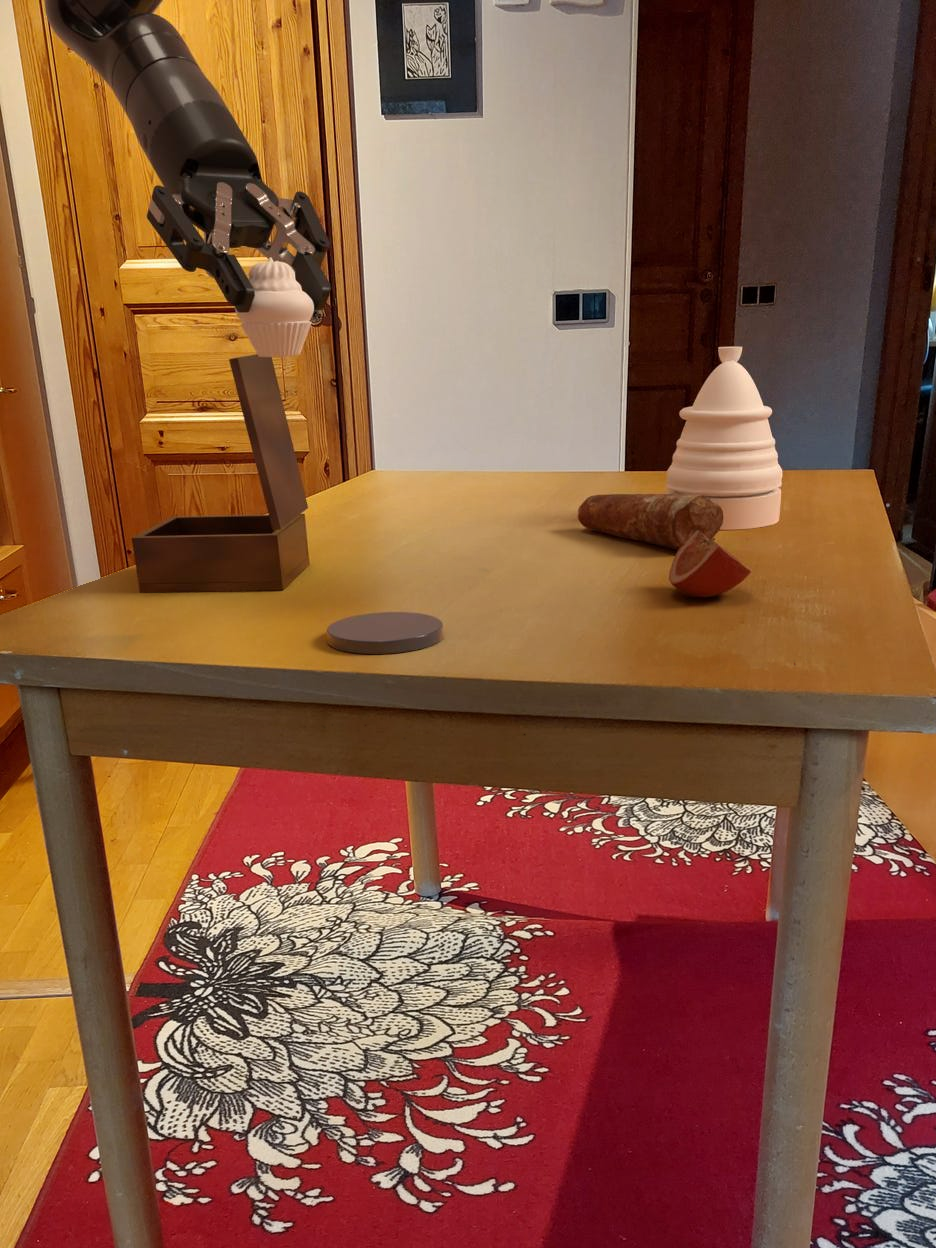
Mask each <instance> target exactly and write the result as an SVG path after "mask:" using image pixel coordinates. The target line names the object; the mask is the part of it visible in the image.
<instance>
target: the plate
mask: <svg viewBox="0 0 936 1248" xmlns="http://www.w3.org/2000/svg"><path fill="white" fill-rule="evenodd" d="M326 638H327V643H328V645H329V646H330V647H331V648H333V649H335V650H338V651H341V652H346V653H352V654H362V655H388V654H389V655H390V654H401V653H408V652H413V651H418V650H422V649H425V648H429V647H431V646H433V645H435V644H438V643H440V642H441V641H442V639H443V638H444V624H443V621H442V620H441V619H440V618H438V617H436V616H433V615H431V614H425V613H420V612H409V611H383V612H382V611H381V612H370V613H363V614H358V615H351V616H348V617H344V618H341V619H338V620H336V621H334V622H332V623H330V624H329V625H328V626H327V628H326Z"/></svg>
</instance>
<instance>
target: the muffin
mask: <svg viewBox="0 0 936 1248" xmlns="http://www.w3.org/2000/svg"><path fill="white" fill-rule="evenodd" d="M248 279H249V281H250V283H251V284H252V286H253V288H254V291H255V297H254V300H253V302H252V305H251V308H250V310H249V312H244V313H239V312H238V311H237V310H236V308H235V307H234V310H235V314H236V316H237V318H238V319H239V321H240V322H241V323H240V327H241V328H242V330H243V332H244V333H245V335H246V337H247V338H248V340H249V342H250V344H251V346H252V348H253V349H254V351H255V352H256V354H258V356H259V357H272V358H286V357H298V356H300V355H301V352H302V350H303V348H304V344H305V342H306V341H307V336H308V334H309V331H310V330H311V326H312V323H313V321H311V319H312V317H313V315H314V312H315V311H314V304H313V301H312V299H311V298H310V297H309V296H308V295H307V294H306V293H305V292H304V291H302V288H301V285H300V284H299V283H298V282H297V281H296V279H295V272H294V271H293V269H292V268H291V267H290V266H289V265H288V264H286V263H284V262H279V261H275V262H274V261H273V260H272V258H271V257H270V258H269V259H267V261H261V262H257V263H254V265H253V266H251V268H250V269H249V271H248Z"/></svg>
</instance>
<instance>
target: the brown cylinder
mask: <svg viewBox="0 0 936 1248" xmlns="http://www.w3.org/2000/svg"><path fill="white" fill-rule="evenodd" d="M577 520H578V522H579V523H580V525H581V526H583V527H584V528H586V529H589V530H593V531H597V532H601V533H605V534H608V535H611V536H614V537H619V538H623V539H627V540H629V539H630V540H635V541H638V542H642V543H643V542H644V543H648V544H652V545H657V546H661V547H663V548H667V549H671V550H677V551H678V550H679V549H680V547H682V546H683V545H684V543H685V542H686V541H687V540H688V539H689V538H690V537H691V536H692V535H693V534H694V533H695V532H696V531H697V530H698V531H700V532H702V534H704V535H705V536H706V537H707V538H708V539H709V540H710V539H713V538H715V536H716V535H717V534H718V533H719V531H721V530H720V527H721V526H722V524H723V511H722V509H721V507H720V506H719V505H717V504H715V503H714V502H712V501H711V500H709V499H708V498H707V497H705V496H704V495H692V494H665V493H610V494H607V493H606V494H594V495H590V496H588V497H586V498H585V500H584V501H583V502H582V503H581V504H580V506H579V507H578V509H577Z"/></svg>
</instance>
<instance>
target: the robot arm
mask: <svg viewBox="0 0 936 1248" xmlns="http://www.w3.org/2000/svg"><path fill="white" fill-rule="evenodd" d="M163 1H164V0H44V1H43V2H44V11H45V15H46V19H47V22H48V25H50V28H51V29H52V32H54V34H55V35H56V36H57V38H58V39H59V40H61V42H62V43H63V44H65V46H66V47H68V48H69V49H70V50H71V51H72V52H73V53H74V54H76V55H77V56H78V57H79V58H81V59H82V60H83V61H84V62H85V63H87V64H88V65H90V67H91V68H92V69H93V70H94V71H95V72H96V73H97V74H98V75H99V76H100V77H101V78H102V80H103V81H104V82H105V84H107V85H108V87H109V88H110V89H111V90H112V92H113V94H114V96H115V97H116V99H117V101H118V103H119V105H120V107H121V108H122V110H123V111H124V113H125V115H126V117H127V118H128V120H129V122H130V124H131V126H132V129H133V131H134V134H135V136H136V140H137V141H138V143H139V146H140V147H141V149H142V151H143V153H144V154H145V156H146V158H147V160H148V162H149V163H150V165H151V167H152V168H153V170H154V172H155V174H156V176H157V177H158V179H159V181H160V182H161V184H162V185H160V184H158V185H155V186H154V187H153V189H152V193H151V198H150V201H149V205H148V208H147V212H146V218H147V220H148V222H149V223H150V225H151V226H152V227H153V229H154V230H155V231H156V233H157V234H158V235H159V237H160V239H161V241H162V242H163V243H164V244H165V245H166V247H167V248H168V250H169V251H170V253H171V255H173V257H174V258H175V260H176V261H177V263H178V264H179V265H180V267H181V268H182V269H183V270H184V271H186V272H189V273H195V272H196V271H197V269H199V270H203V271H205V274H207V275H208V277H210V278H212V279H214V281H215V283H216V284H217V286H218V288H219V290H220V292H221V293H222V295H223V297H224V298H225V300H226V302H227V303H228V304H230V306H232V307H234V309H235V308H236V310H237V311H238V312H239V313H244V312H249V310H250V308H251V305H252V302H253V300H254V297H255V291H254V288H253V286H252V284H251V283H250V281H249V276H247V274H246V272H245V270H244V269H243V267H242V265H241V263H240V262H239V260H238V258H237V256H236V255H235V254H229V252H230V249H239V248H241V247H246V248H251V249H255V250H257V251H259V253H261V254H262V255H263V256H264V257H265V258H267V260H269V258H270V257H271V258H272V260H273V261H274V262H284V263H286V264H288V265H289V266H290V267H291V268H292V269H293V271H294V272H295V279H296V281H297V282H298V283H299V284H300V285H301V288H302V291H304V292H305V293H306V294H307V295H308V296H309V297H310V298H311V299H312V301H313V304H314V312H315V311H323V310H324V309H325V306H326V304H327V302H328V300H329V297H330V295H331V291H332V285H331V283H330V281H329V279H328V278H327V276H326V275H325V273H324V271H323V269H322V266H323V262H324V259H325V256H326V254H327V253H328V250H329V249H330V246H331V242H330V240H329V238H328V235H327V233H326V231H325V229H324V226H323V225H322V222H321V220H320V218H319V216H318V214H317V211H316V209H315V207H314V206H313V205H314V204H313V202H312V201H311V199H310V197H309V195H308V194H306V193H305V192H303V191H300V190H297V191H296V192H295V193H294V196H293V199H289V198H282V197H278V195H277V193H275V191H274V190H272V189H271V188H270V187H269V186H267V184H266V183H265V182H264V181H263V178H262V175H261V170H260V165H259V161H258V158H257V156H256V153H255V152H254V150H253V148H252V147H251V145H250V143H249V141H248V139H247V138H246V136H245V135H244V133H243V132H242V130H241V128H240V126H239V124H238V123H237V121H236V119H235V118H234V116H233V115H232V113H231V111H230V109H229V108H228V107H227V105H226V103H225V100H223V97H222V96H221V94H220V93H219V92H218V89H217V88H216V87H215V86H214V84H212V82H211V81H210V80H209V78H207V76H206V75H205V73H204V72H203V71H202V68H201V67H200V65H199V63H198V62H197V60H196V59H195V57H194V55H193V53H192V52H191V50H190V48H189V46H188V45H187V43H186V41H185V40H184V38H183V36H182V35H181V34H180V32H179V30H177V28H176V27H175V26H174V25H173V24H172V23H171V22H170V21H169V20H168V19H166V18H165V17H162V16H161V15H159V14H156V13H155V12H156V11H157V10H158V8H159V7H160V5H161V4H162V3H163ZM274 226H275V228H276V233H275V236H274V237H273V238H274V239H273V240H272V241H271V240H270V238H271V235H272V232H273V230H274ZM198 230H200V231H202V233H203V237H202V234H200V232H199V231H198ZM289 245H290V246H292V248H294V249H295V250H296V253H295V255H294V254H292V253H291V252H290V251H289V249H288V246H289Z"/></svg>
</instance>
